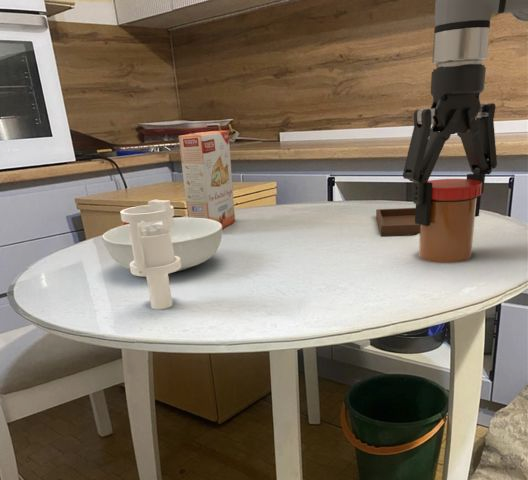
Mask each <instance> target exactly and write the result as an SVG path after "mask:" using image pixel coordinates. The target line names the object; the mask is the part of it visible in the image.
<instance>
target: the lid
mask: <svg viewBox="0 0 528 480" xmlns="http://www.w3.org/2000/svg"><path fill="white" fill-rule="evenodd" d="M427 182H431V183H432V199H434V200H458V199H468V198H474V197H478V196H480V195H481V196H482V194H483V193H482V182H481V181H478V180H471V179H467V178H441V179H431V180H428V181H427ZM481 193H482V194H481Z"/></svg>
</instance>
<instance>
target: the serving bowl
mask: <svg viewBox="0 0 528 480" xmlns="http://www.w3.org/2000/svg"><path fill="white" fill-rule="evenodd" d="M172 220H173V227H172V228H170V235H171V242H172V245H173V250H174V255H175V256H178V257H180V260H181V268H180V269H179V270H177V271H175V272H174V273H177V272H182V271H184V270H187V269H190V268H194V267H195V266H198V265H201V264H202V263H204V262H206V261H208V260H209V259H211V258H212V256H214V254H215V253H216V252H217V251H218V249H219V247H220V245H221V242H222V237H223V228H222V225H221V223H219V222H217V221H215V220H211V219H205V218H188V216H186V217H172ZM154 223H155V221H154V222H145V221H143V222H141V223H139V226H141V225H145V226H150V228H151V231H155V230H156V229H154V228H152V226H151V224H154ZM128 225H130V224H127V225H124V224H123V225H119V226H116V227H114V228H113V227H112V228H111V229H109V230H107V231H106V232H104V233H103V234H102V241H103V245H104V247H105V249H106V251H107V253H108V254H109V256H110V257H111V258H112V259H113V260H114V261H115V262H116V263H117V264H118V265H120V266H121V267H124V268H127V269H128V270H130V263H131V262H132V261H134V255H133V249H132V243H131V238H130V232H129V230H128V228H129V226H128Z"/></svg>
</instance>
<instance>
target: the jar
mask: <svg viewBox="0 0 528 480" xmlns="http://www.w3.org/2000/svg"><path fill="white" fill-rule="evenodd" d="M476 201H477V197H474V198H468V199H458V200H434V199H431V215H430V225H429V226H424V225H420V233H419V239H418V241H419V242H418V258H419V259H421V260H423V261H427V262H432V263H441V264H442V263H443V264H444V263H445V264H447V263H448V264H449V263H451V264H452V263H460V262H464V261H468V260H470V259H471V257H472V251H473V243H474V230H475V222H476V221H475V220H476V217H475V211H476Z"/></svg>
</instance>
